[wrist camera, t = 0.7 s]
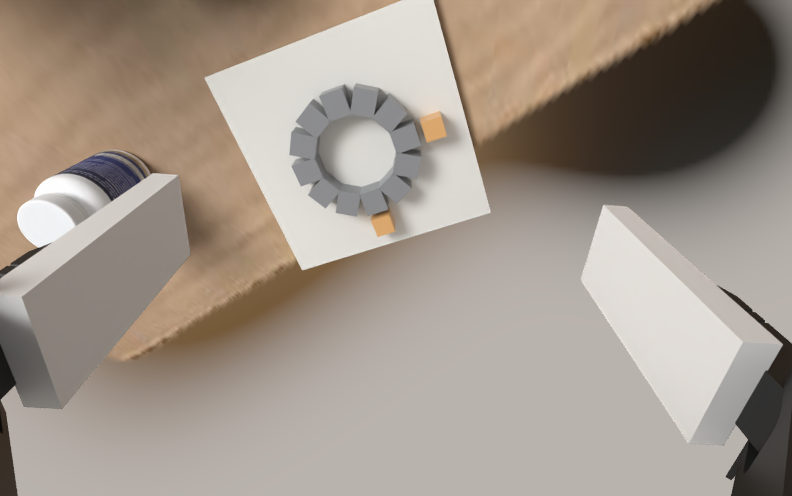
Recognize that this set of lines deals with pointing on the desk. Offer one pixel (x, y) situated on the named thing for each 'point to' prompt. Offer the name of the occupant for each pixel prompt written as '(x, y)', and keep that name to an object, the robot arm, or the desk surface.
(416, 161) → the socket
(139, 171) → the pill bottle
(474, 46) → the desk surface
